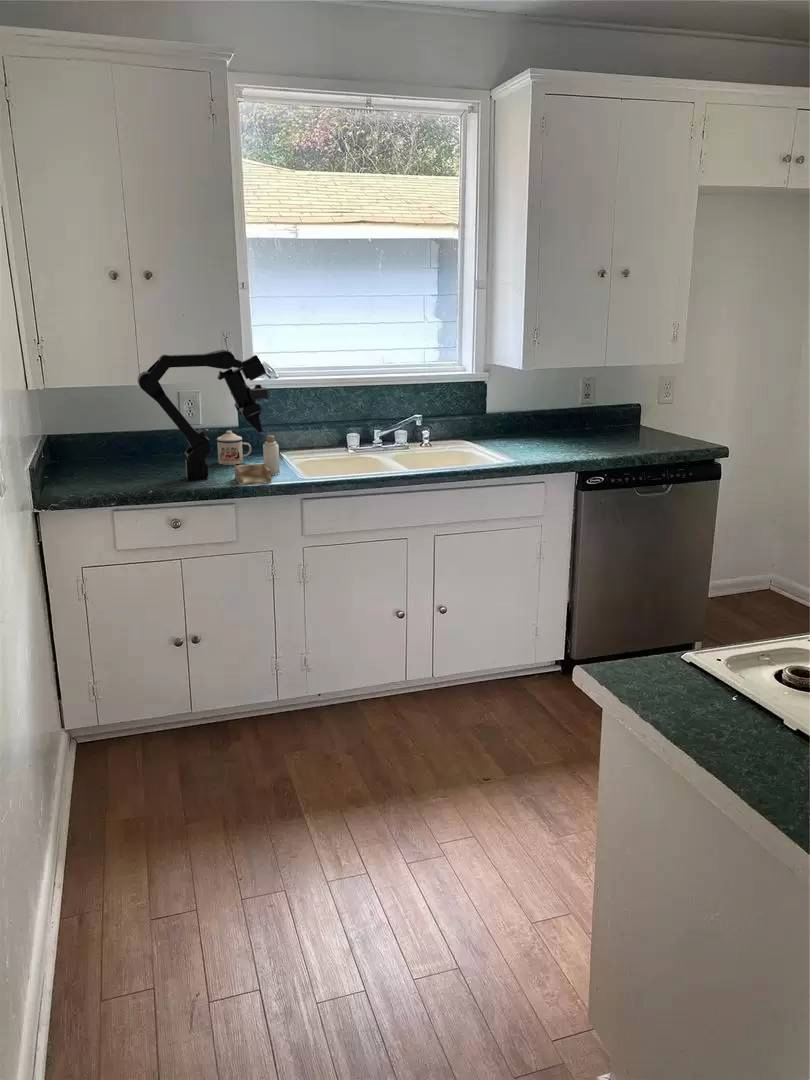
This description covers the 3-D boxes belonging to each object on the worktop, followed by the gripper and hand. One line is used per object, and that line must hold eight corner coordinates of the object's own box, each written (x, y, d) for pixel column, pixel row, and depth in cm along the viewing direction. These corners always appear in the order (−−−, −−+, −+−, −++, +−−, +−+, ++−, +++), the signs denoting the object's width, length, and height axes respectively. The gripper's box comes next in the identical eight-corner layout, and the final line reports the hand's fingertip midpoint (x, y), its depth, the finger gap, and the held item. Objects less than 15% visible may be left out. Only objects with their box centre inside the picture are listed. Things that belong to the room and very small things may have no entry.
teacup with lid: (217, 466, 294) (215, 433, 291) (218, 460, 303) (216, 429, 299) (251, 465, 296) (250, 432, 293) (251, 459, 305) (250, 428, 301)
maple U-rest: (240, 485, 267) (239, 472, 266) (235, 478, 276) (234, 465, 275) (271, 482, 271) (270, 470, 270) (265, 476, 280) (264, 463, 278)
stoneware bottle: (265, 475, 280) (264, 437, 276) (262, 472, 285) (261, 435, 281) (281, 474, 282) (279, 436, 278) (277, 471, 287) (276, 434, 283)
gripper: (265, 379, 265) (285, 423, 271) (255, 373, 282) (274, 415, 288) (233, 394, 263) (254, 438, 269) (225, 387, 280) (245, 429, 286)
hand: (258, 429), depth 278 cm, fingers open, 9 cm apart
